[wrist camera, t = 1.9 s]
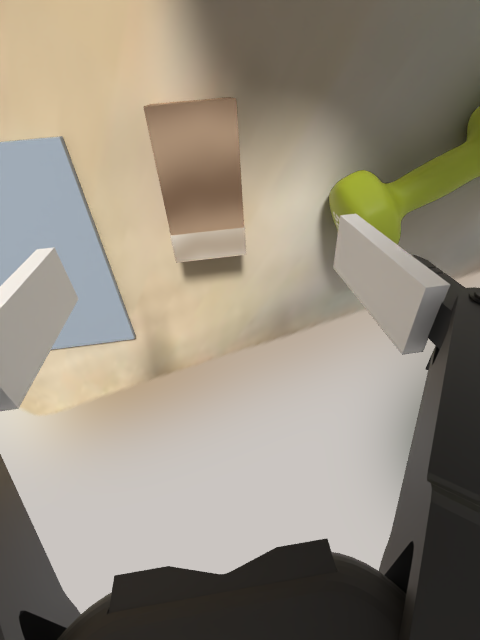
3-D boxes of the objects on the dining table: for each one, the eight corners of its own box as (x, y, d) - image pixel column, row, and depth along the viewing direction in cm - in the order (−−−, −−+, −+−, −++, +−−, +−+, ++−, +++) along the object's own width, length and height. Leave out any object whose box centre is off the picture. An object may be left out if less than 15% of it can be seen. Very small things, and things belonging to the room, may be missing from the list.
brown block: (149, 104, 23) (142, 106, 19) (231, 97, 23) (237, 98, 20) (178, 243, 29) (176, 262, 26) (240, 236, 30) (246, 254, 26)
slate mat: (-133, 154, 22) (-140, 155, 22) (62, 136, 23) (59, 137, 23) (11, 351, 35) (8, 354, 34) (135, 335, 35) (134, 338, 35)
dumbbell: (337, 248, 32) (368, 283, 26) (313, 176, 27) (344, 199, 21) (502, 164, 29) (579, 183, 23) (506, 66, 24) (604, 59, 18)
